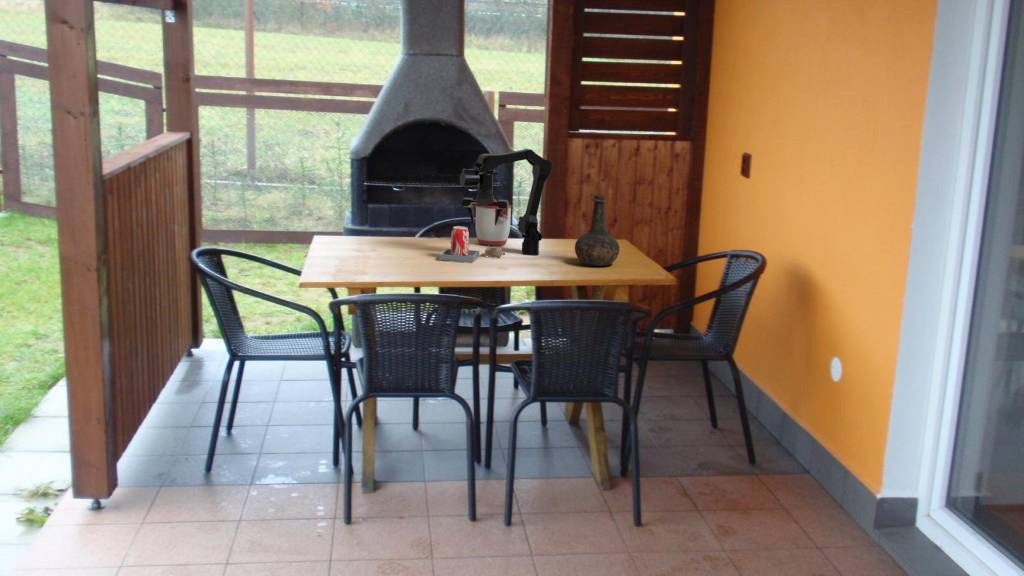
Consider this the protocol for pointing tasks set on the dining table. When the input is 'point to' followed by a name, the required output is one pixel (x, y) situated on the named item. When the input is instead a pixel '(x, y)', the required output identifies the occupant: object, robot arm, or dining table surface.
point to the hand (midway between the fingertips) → (484, 224)
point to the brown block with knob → (494, 252)
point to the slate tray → (456, 258)
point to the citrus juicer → (492, 225)
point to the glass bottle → (597, 239)
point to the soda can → (459, 241)
